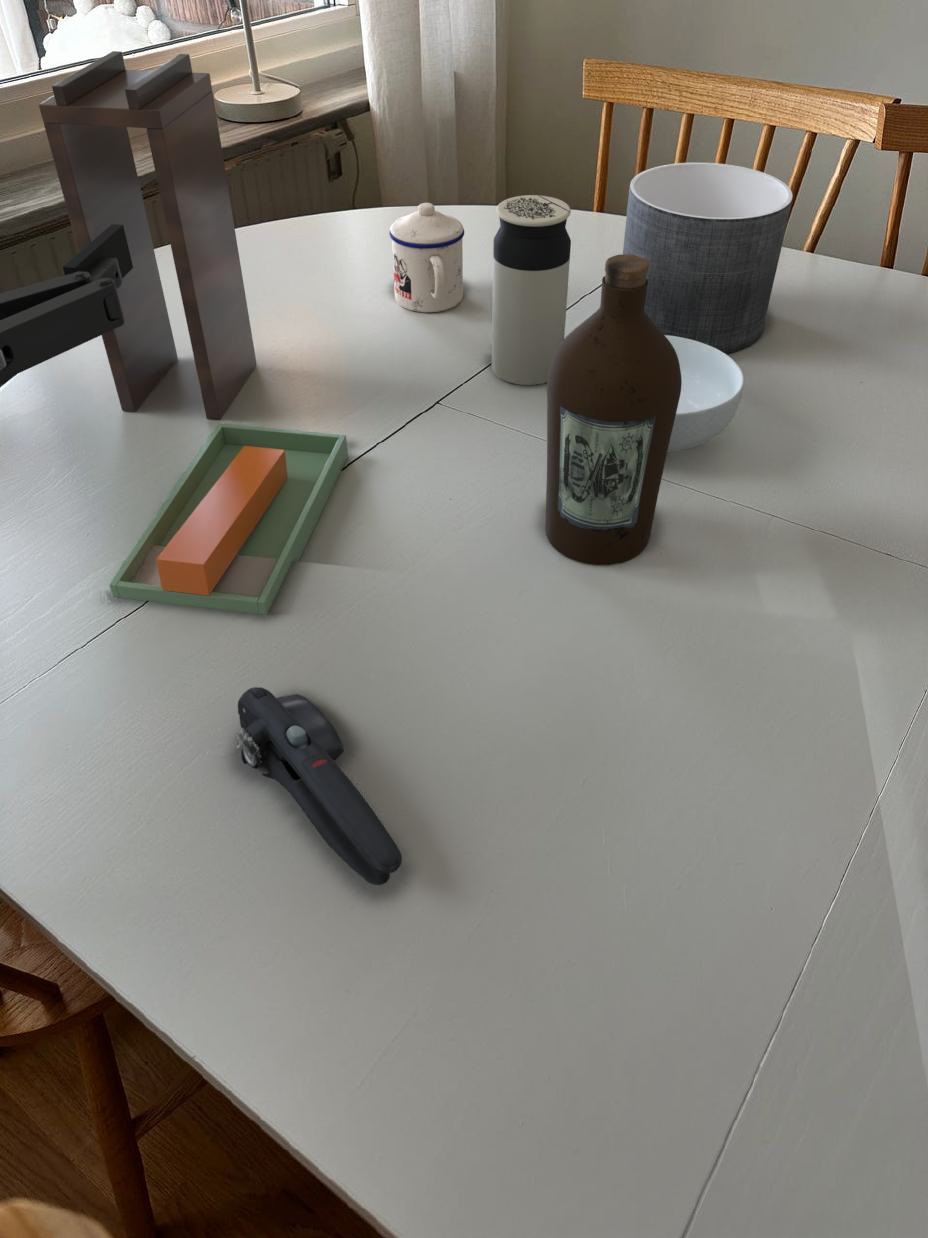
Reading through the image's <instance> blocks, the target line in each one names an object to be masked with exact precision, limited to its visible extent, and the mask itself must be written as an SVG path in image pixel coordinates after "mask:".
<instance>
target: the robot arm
mask: <svg viewBox="0 0 928 1238" xmlns="http://www.w3.org/2000/svg"><path fill="white" fill-rule="evenodd" d="M132 269H133V264H132V260H131V255H130V251H129V247H128V243H127V239H126V234H125V230H124V226H123V225H117V224H111V225H110V226H109V227H108V228H107V229H106V230H105V231H103V232H102V233H101V234H100V235H99V236H98V237H96V238H95V239H94V240H93V241H92V242H91V243H90V244H88V245H87V246H86V247H85V248H84V249H83V250H82V251H80V252H79V251H78V253H77V254H76V255H75V256H73V257H72V258H71V259H70V260H69V261H68V262H66V263H65V264H64V265H63V266H62V270H63V274H64V275H61V276H58V277H54V278H51V279H47V280H43V281H40V282H37V283H33V284H29V285H25V286H22V287H18V288H15V289H11V290H8V291H4V292H1V293H0V388H1V387H3V386H5V385H6V384H7V383H8V382H10V381H11V380H12V379H13V378H14V377H16V376H17V375H18V374H20V373H23V372H24V371H27V370H29V369H31V368H33V367H35V366H38V365H41V364H42V363H44V362H46V361H49V360H51V359H53V358H55V357H57V356H59V355H62V354H64V353H67V352H68V351H71V350H72V349H75V348H76V347H79V346H81V345H83V344H85V343H87V342H89V341H92V340H93V339H96V338H98V337H100V336H101V337H102V335H103V334H105V333H107V332H109V331H111V330H114V329H116V328H118V327H120V326H122V325H124V323H125V320H124V316H123V312H122V308H121V304H120V300H119V296H118V292H117V289H118V288H119V287H120V286H121V285H122V278H123V277H124V276H125V275H126V274H127V273H129V272H130V271H131V270H132Z"/></svg>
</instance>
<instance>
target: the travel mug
mask: <svg viewBox="0 0 928 1238" xmlns="http://www.w3.org/2000/svg"><path fill="white" fill-rule="evenodd" d="M571 213H572V209H571V207H570V205H569V204H568V203H566V202H565V201H563V200H561V199H559V198H556V197H553V196H547V195H537V194H530V195H529V194H528V195H527V194H526V195H518V196H513V197H509V198H507V199H505V200H502V201H501V202H500V203H498V205H497V207H496V214H497V216H498V218H499V228H498V230H497V231H496V234H495V235H494V237H493V251H492V252H493V253H492V254H493V255H492V257H493V259H492V310H491V311H492V315H491V316H492V318H491V370H492V373H493V374H494V375H495V376H496V377H498V378H499V379H501V380H502V381H505V382H508V383H511V384H514V385H518V384H519V386H536V384H538V385H543V384H545V383H547V379H548V373H549V368H550V365H551V362H552V360H553V357H554V355H555V353H556V350H557V349H558V347H559V345H560V344H561V342H562V341H563V340H564V339H565V333H566V319H567V305H568V304H567V303H568V292H569V291H568V289H569V277H570V262H571V261H570V260H571V247H572V240H571V237H570V235H569V232H568V230H567V228H566V227H567V222H568V219H569V217H570V216H571Z"/></svg>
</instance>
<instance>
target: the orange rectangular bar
mask: <svg viewBox="0 0 928 1238" xmlns="http://www.w3.org/2000/svg"><path fill="white" fill-rule="evenodd" d="M287 478H288V476H287V466H286V457H285V450H282V449H271V448H261V447H251V446H244V447H243V449H242V450H241V451H240V453H239V454H238V455H237V456H236V458H235V459H234V460H233V462H232V463H231V464H230V465H229V467H228V468H227V469H226V470H225V472H224V473H223V474H222V476H221V477H220V478H219V479H218V481H217V482H216V483H215V485H214V486H213V487H212V488H211V490H210V491H209V492H208V493H207V495H206V496H205V497H204V499H203V500H202V501H201V502H200V504H199V505H198V506H197V508H196V509H195V510H194V511H193V513H192V514H191V515H190V516H189V518H188V519H187V520H186V522H185V523H184V524H183V525H182V527H181V528H180V529H179V531H178V532H177V533H176V534H175V536H174V537H173V538H172V539H171V541H170V542H169V543H168V545H167V546H166V547H164V548H163V549H162V551H161V552H160V554H159V555H158V556H157V557H156V559H155V561H156V566H157V572H158V575H159V580H160V586H162V590H166V591H175V592H183V593H192V594H200V595H210V593H211V592H213V590H214V589H215V587H216V586H217V585H218V583H219V582H220V580H221V578H222V577H223V576H224V574H225V573H226V571H227V569H228V568H229V566H230V565H231V563H232V562H233V560H234V559H235V557H236V556H237V555H236V554H237V553H238V551H239V550H240V548H241V547H242V545H243V544H244V542H245V541H246V539H247V538H248V536H249V535H250V533H251V532H252V530H253V529H254V527H255V526H256V524H257V523H258V521H259V520H260V518H261V517H262V515H263V514H264V512H265V511H266V509H267V508H268V506H269V505H270V503H271V502H272V500H273V499H274V497H275V496H276V494H277V493H278V491H279V490H280V488H281V487H282V485H283V484H284V482H285V481H286V479H287Z"/></svg>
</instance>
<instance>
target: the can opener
mask: <svg viewBox="0 0 928 1238" xmlns="http://www.w3.org/2000/svg"><path fill="white" fill-rule="evenodd" d="M237 713H238V715H239V724H240V732H241V734H240V733H237V732H235V733H234V736H235V739H236V741H237V745H236V749H241V751H240V755H241V756H240V757H241V761H242V763H243V764H244V765H246V764H247V765H249V766H250V767H251V768H253V769H258V768H259V767H264V768H265V770H266V771H267V772H268V773H264V772H263V773H262V774H261V776H263V777H264V778H269V779H272V780H275V781H276V782H277V783H279V784H280V785H281V786H283V787H284V789H286V790H287V792H288V793H289V794H290V795H291V796H292V798H293V799H294V800H295V801H296V802H297V804H298V805H299V807H300V808H301V809H302V811H303V813H304V814H305V815H306V817H307V819H308V820H309V821H310V822H311V824H312V825H313V826H314V828H315V829H316V831H317V832H318V833H319V835H320V836H321V838H322V839H323V841H324V842H325V843H326V845H328V847H330V849H331V850H332V851H334V852H335V854H336V855H337V856H338V857H339V858H341V860H342V861H343V862H345V863H346V864H347V865H348V866H349V867H350V868H351V869H352V870H353V871H354V872H355V873H357V874H358V875H359V876H361V877H362V878H363V879H364V880H365V881H366V882H368V883H370V884H371V885H375V886H381V885H384V884H386V883H388V880H389V879H390V874H393V873H395V872H397V871H398V869H399V868H400V867H401V865H402V861H403V857H402V853H401V850H400V849H399V847H398V845H397V844H396V842H395V841H394V839H393V837H392V836H391V834H390V833H389V831H388V830H387V829H386V827H385V826H384V824H383V823H382V821H381V820H380V819H379V817H378V815H377V814H376V812H374V809H372V807H371V805H370V804H369V803H368V801H366V800H367V799H365V797H364V796H363V795H362V794H361V792H360V791H359V789H357V787H356V786H355V785H354V783H353V782H352V781H351V779H349V777H348V776H347V775H346V774H345V772H344V771H343V770H342V769H341V768H340V766H339V765H338V764H337V762H335V761H336V760H337V759H339V757H340V756H341V755H342V754H343V753H344V750H345V749H344V745H343V742H342V741H341V738H340V736H339V734H338V732H337V731H336V729H335V727H334V725H333V724H332V723H331V721H330V720H329V719H328V717H327V716H326V715H325V714H324V713H323V711H321V709H320V708H319V707H317V706H316V705H315V704H314V703H313V702H312V701H310V700H309V699H308V698H307V697H306V696H303V695H301V694H299V693H296V694H295V693H294V694H290V695H285V696H280V697H277V696H275V695H274V694H273V693H272V692H271V691H270V690H268V689H267V688H264V687H261V686H260V687H257V686H254V687H250V688H249V689H246V690H245V692H243V694H242V695H241V696H240V697H239V699H238V701H237Z"/></svg>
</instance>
